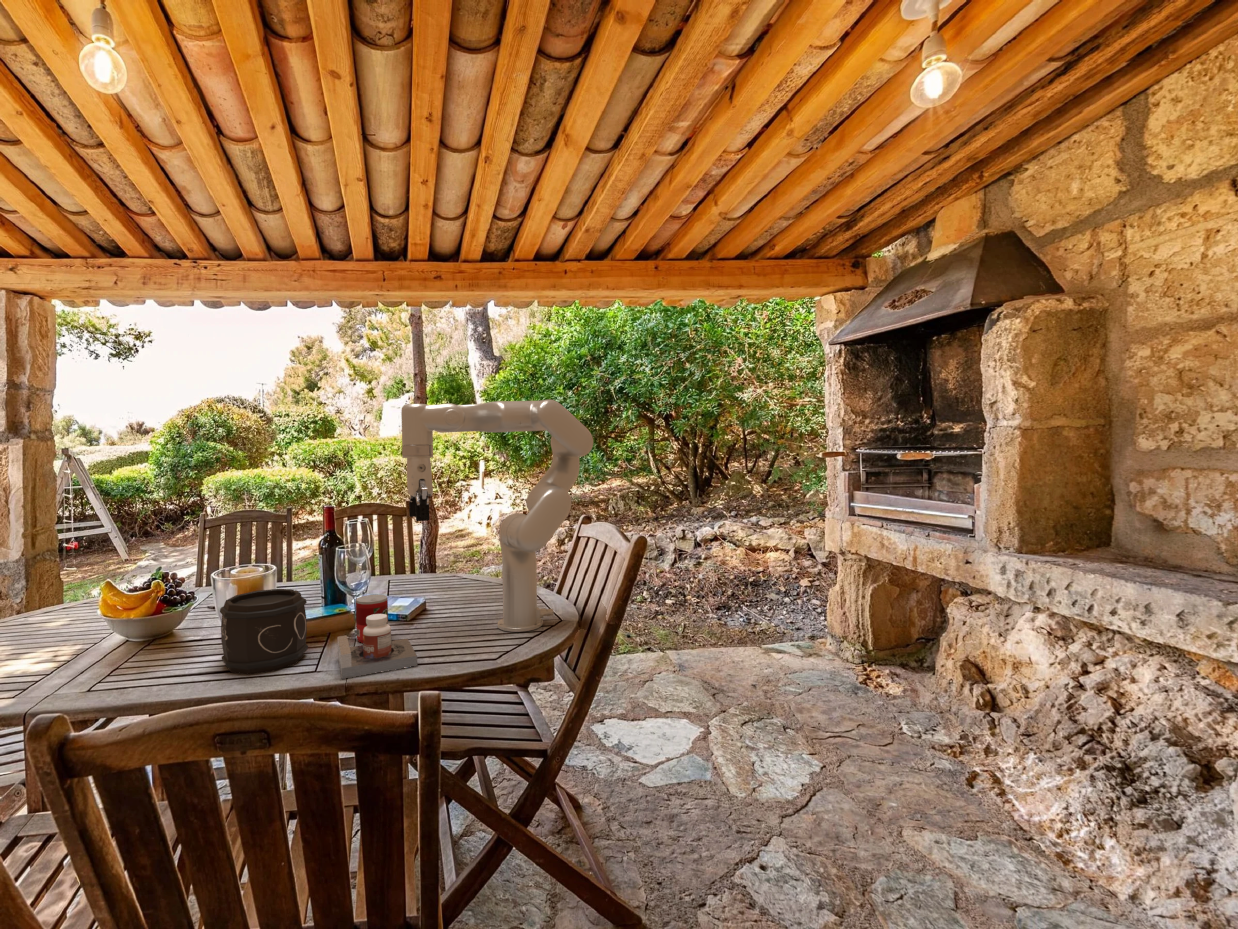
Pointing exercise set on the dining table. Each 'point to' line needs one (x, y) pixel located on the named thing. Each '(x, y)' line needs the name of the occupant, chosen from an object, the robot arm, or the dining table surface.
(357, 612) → the canned food
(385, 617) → the pill bottle
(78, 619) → the dining table surface
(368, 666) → the jig
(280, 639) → the chalk-marked storage tub
